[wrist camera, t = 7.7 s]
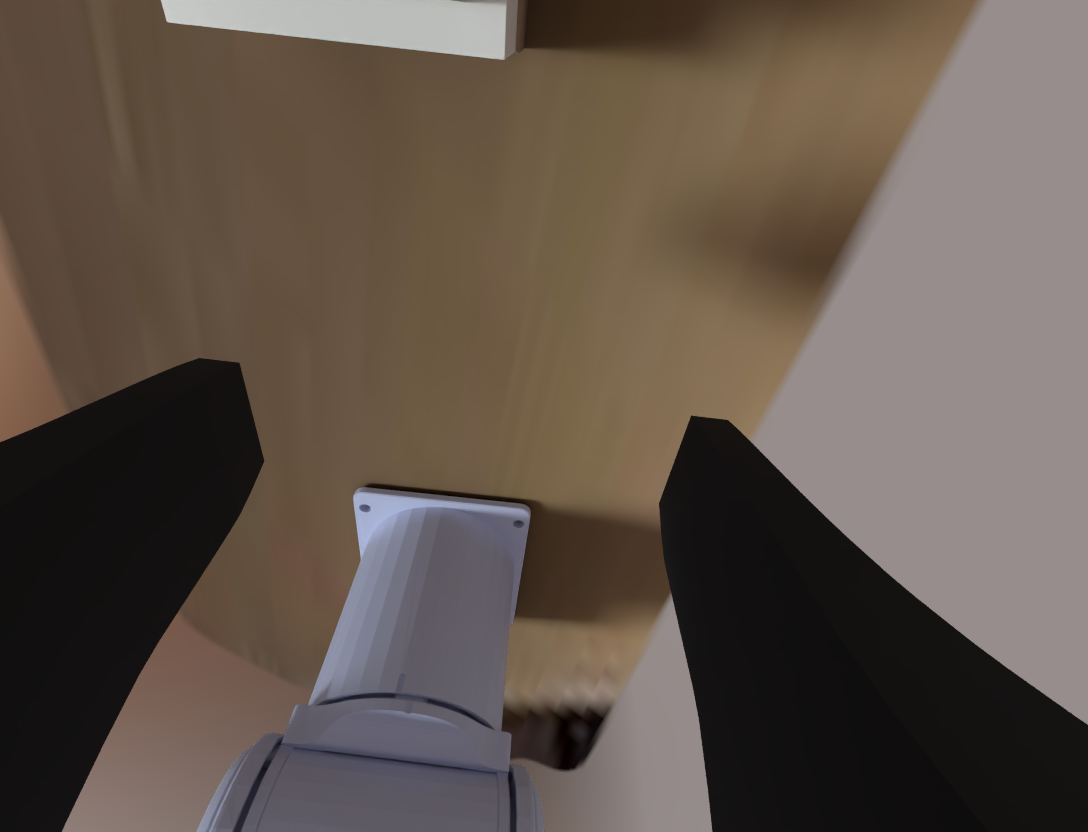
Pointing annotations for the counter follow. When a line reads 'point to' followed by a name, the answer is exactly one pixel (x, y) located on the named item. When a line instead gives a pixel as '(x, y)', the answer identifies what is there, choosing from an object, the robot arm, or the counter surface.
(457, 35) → the top slab
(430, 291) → the counter surface
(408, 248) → the counter surface
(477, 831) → the robot arm
